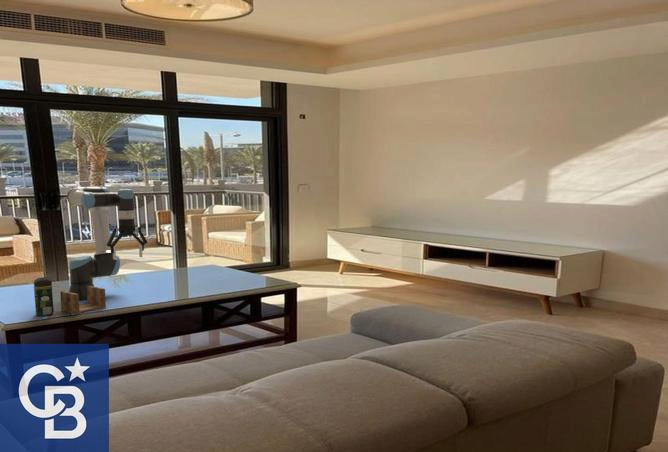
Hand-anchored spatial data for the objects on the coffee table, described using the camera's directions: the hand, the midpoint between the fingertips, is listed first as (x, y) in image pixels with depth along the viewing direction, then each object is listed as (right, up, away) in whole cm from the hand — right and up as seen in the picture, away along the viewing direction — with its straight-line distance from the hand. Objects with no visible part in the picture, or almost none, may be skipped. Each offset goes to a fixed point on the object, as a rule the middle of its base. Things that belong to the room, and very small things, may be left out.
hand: (127, 258), depth 270 cm
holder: (-21, -27, -4) cm, 34 cm away
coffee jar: (-37, -28, -13) cm, 48 cm away
